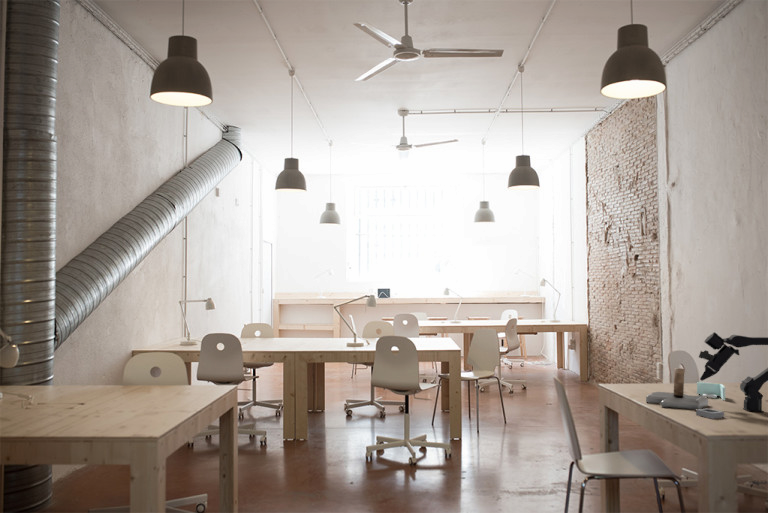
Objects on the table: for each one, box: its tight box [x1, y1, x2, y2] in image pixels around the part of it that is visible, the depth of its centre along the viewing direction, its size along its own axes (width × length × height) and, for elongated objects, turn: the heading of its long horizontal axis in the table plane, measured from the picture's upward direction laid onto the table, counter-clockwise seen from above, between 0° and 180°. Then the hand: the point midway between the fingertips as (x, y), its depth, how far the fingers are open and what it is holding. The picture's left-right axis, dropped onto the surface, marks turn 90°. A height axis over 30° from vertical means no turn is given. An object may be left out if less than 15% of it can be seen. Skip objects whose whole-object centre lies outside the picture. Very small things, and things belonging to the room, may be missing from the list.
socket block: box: [695, 407, 725, 420], centre depth 268 cm, size 8×8×2 cm
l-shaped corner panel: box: [696, 381, 726, 401], centre depth 314 cm, size 12×12×8 cm
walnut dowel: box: [673, 367, 685, 396], centre depth 293 cm, size 4×4×13 cm
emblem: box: [645, 391, 709, 410], centre depth 294 cm, size 28×5×28 cm
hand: (700, 380), depth 290 cm, fingers open, 9 cm apart
